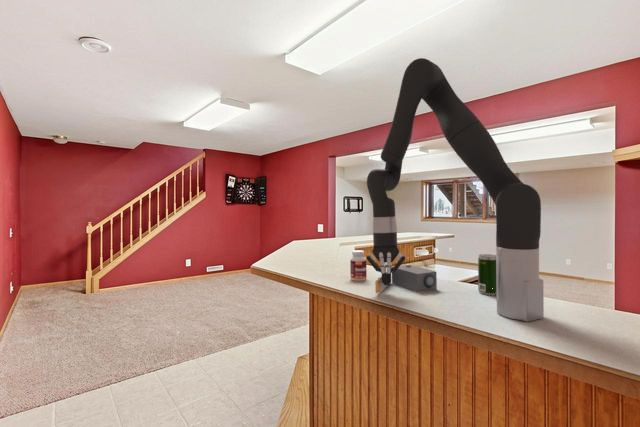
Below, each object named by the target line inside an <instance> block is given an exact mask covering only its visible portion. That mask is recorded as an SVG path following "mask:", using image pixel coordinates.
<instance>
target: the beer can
mask: <svg viewBox="0 0 640 427" xmlns="http://www.w3.org/2000/svg"><path fill="white" fill-rule="evenodd" d="M477 266H478V267H477V268H478V269H477V274H478V276H477V278H478V279H477V281H478V284H477V286H478V290H477V291H478V293H479V294H481V295H484V296H497V279H496V254H488V253H484V254H483V253H482V254H478V258H477ZM492 288H493V289H492Z"/></svg>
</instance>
